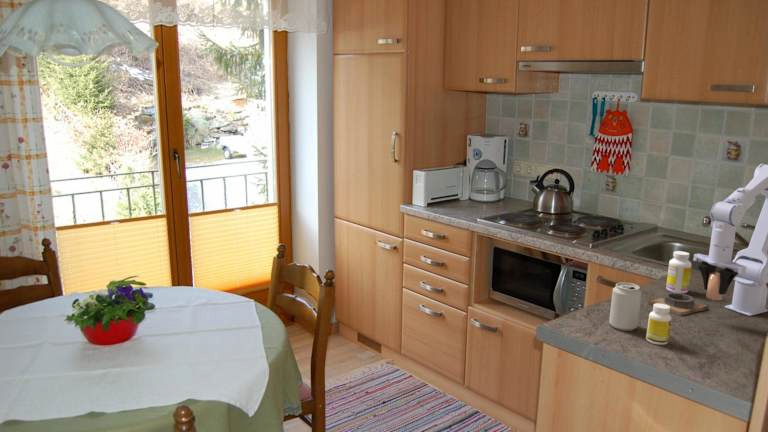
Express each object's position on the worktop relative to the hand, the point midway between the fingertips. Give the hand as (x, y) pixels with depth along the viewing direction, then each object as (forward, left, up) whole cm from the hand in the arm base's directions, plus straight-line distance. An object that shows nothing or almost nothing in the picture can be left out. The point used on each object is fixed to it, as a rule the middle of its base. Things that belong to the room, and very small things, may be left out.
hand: (714, 291), depth 182 cm
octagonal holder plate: (-2, -12, -9) cm, 15 cm away
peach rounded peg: (0, 0, -2) cm, 2 cm away
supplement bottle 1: (+27, +3, -9) cm, 29 cm away
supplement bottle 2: (-15, -22, -9) cm, 28 cm away
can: (+27, -8, -9) cm, 30 cm away
